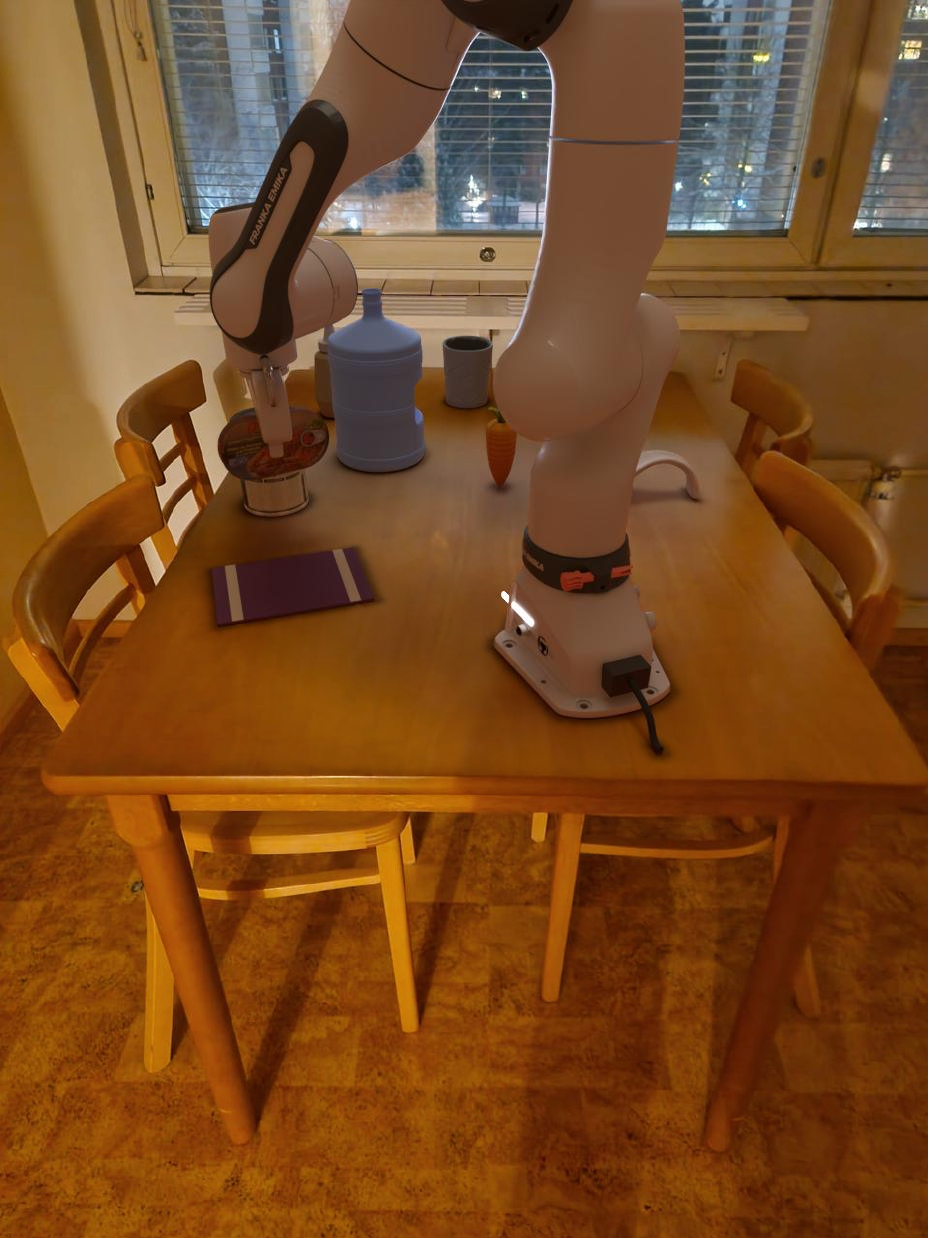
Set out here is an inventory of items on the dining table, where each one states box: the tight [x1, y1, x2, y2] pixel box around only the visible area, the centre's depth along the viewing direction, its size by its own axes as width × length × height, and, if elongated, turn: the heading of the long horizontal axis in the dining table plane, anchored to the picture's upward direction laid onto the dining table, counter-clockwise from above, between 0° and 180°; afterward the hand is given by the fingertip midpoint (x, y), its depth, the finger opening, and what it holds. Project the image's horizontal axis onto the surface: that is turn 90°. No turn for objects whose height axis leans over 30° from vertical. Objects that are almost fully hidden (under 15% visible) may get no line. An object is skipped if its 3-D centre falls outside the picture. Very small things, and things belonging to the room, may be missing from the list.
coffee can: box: [228, 407, 310, 518], centre depth 125 cm, size 10×10×14 cm
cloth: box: [211, 546, 376, 628], centre depth 109 cm, size 14×20×1 cm
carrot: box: [485, 406, 518, 488], centre depth 130 cm, size 5×5×15 cm
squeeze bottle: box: [313, 324, 336, 419], centre depth 156 cm, size 8×8×18 cm
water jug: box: [328, 288, 426, 473], centre depth 136 cm, size 16×16×28 cm
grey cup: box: [441, 335, 494, 409], centre depth 164 cm, size 10×10×12 cm
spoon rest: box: [634, 449, 700, 499], centre depth 129 cm, size 24×12×7 cm, turn 93°
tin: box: [216, 405, 330, 481], centre depth 109 cm, size 15×3×8 cm, turn 121°
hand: (274, 449), depth 109 cm, fingers closed on tin, 3 cm apart
